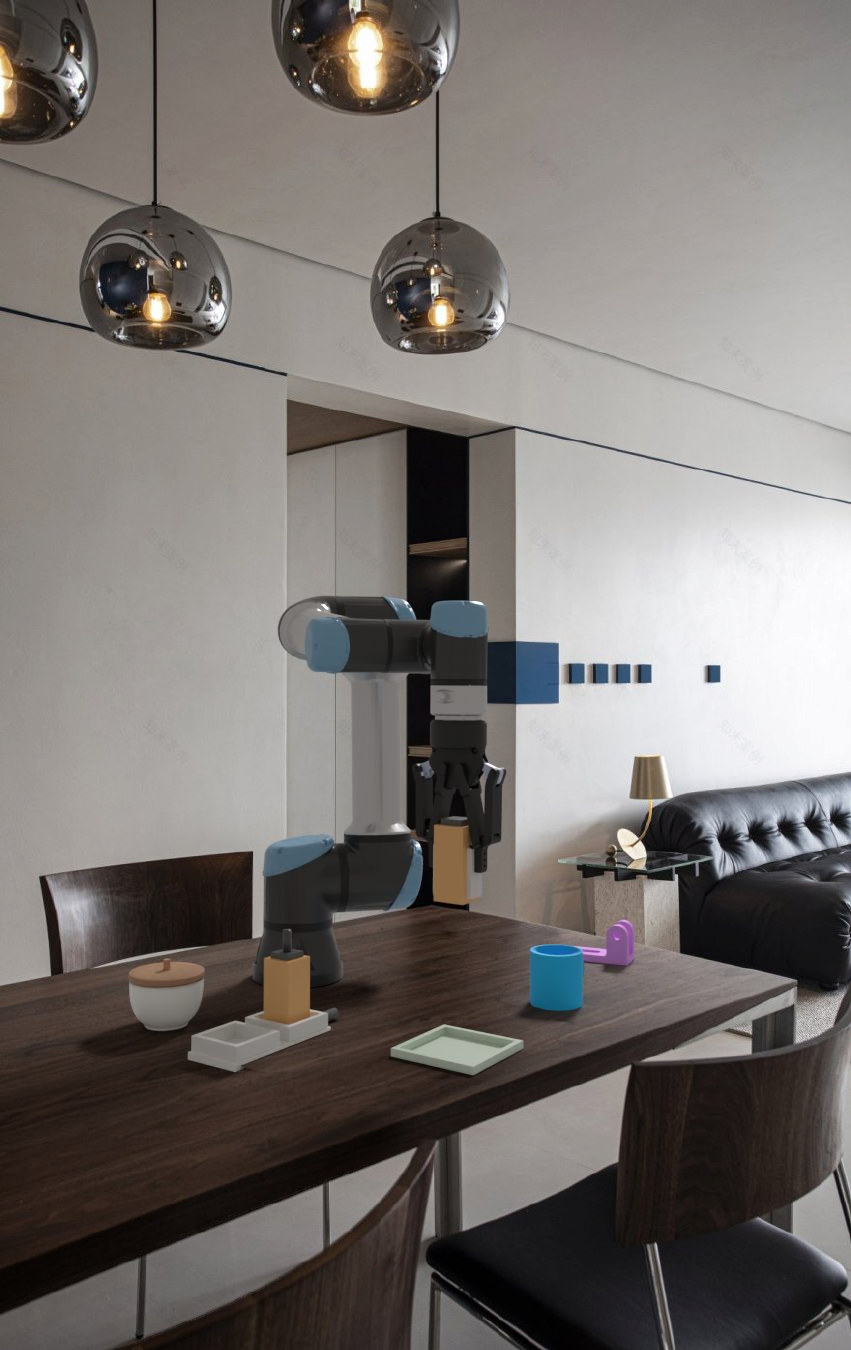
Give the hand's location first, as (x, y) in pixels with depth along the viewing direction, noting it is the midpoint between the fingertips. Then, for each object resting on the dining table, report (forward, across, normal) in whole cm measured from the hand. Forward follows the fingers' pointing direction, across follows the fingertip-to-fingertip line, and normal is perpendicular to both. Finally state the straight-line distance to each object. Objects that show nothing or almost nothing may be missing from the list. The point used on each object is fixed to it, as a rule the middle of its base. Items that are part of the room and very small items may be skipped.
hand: (457, 894), depth 145 cm
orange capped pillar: (+1, 0, 0) cm, 1 cm away
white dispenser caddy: (+21, -23, -9) cm, 33 cm away
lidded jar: (+22, -42, -12) cm, 48 cm away
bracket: (+22, -8, +60) cm, 64 cm away
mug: (+22, 0, +32) cm, 38 cm away
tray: (+21, 0, 0) cm, 21 cm away
